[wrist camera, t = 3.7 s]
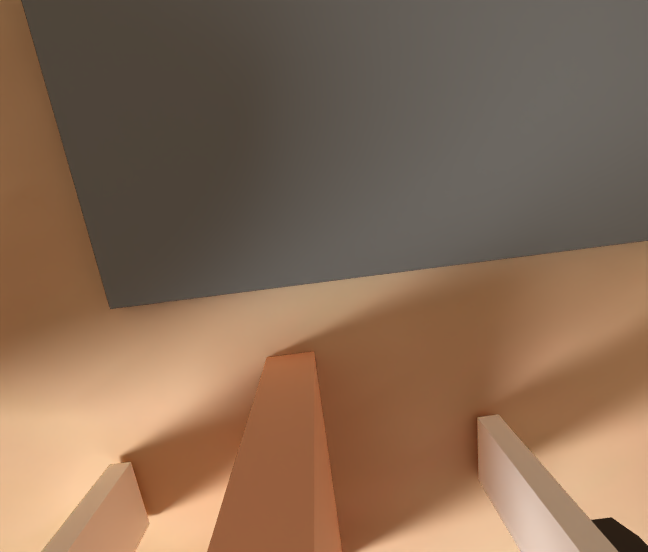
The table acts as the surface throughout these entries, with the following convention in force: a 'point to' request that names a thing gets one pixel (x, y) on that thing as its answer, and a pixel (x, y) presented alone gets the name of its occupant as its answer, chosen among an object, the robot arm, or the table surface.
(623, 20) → the mat
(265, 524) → the slab
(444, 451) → the table surface
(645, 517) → the table surface
